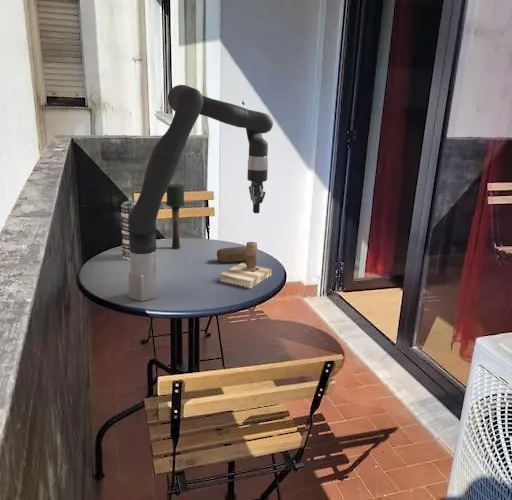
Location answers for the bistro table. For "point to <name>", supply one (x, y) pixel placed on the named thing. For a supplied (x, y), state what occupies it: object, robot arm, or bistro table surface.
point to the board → (245, 275)
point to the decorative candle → (126, 227)
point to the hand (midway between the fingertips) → (256, 212)
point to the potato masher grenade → (175, 209)
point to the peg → (251, 256)
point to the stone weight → (232, 254)
